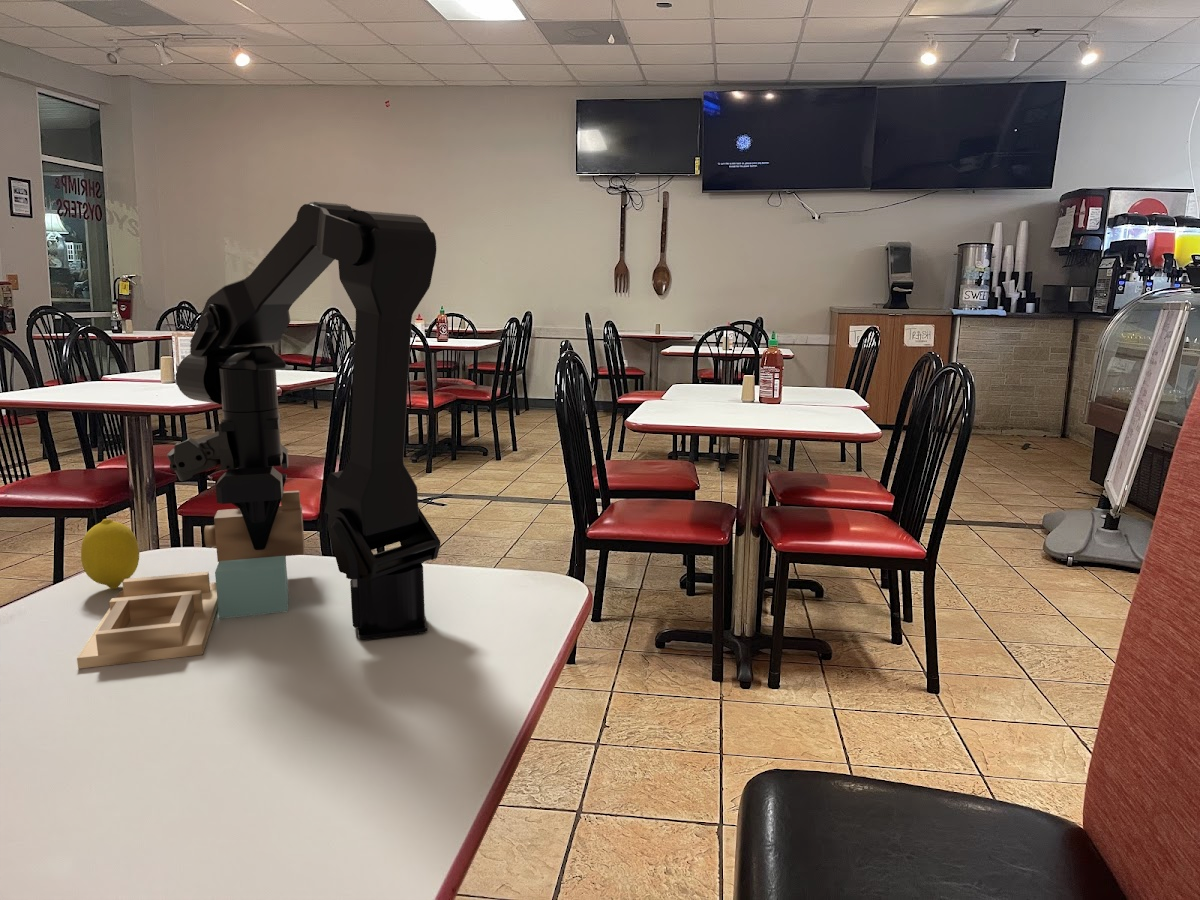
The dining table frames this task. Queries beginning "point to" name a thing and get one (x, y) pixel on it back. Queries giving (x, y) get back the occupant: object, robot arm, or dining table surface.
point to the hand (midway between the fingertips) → (261, 544)
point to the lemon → (109, 553)
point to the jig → (154, 621)
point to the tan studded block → (236, 540)
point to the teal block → (252, 586)
